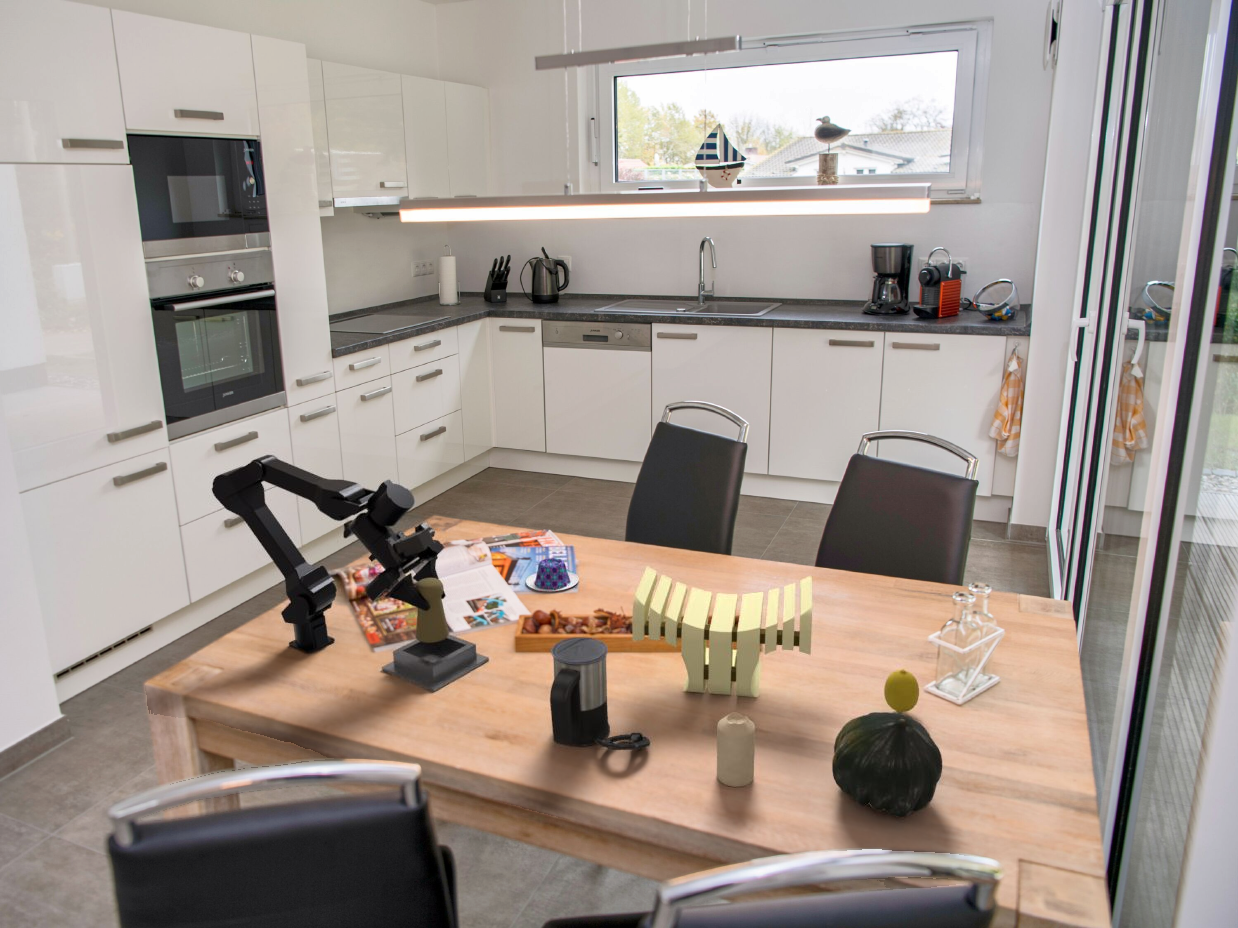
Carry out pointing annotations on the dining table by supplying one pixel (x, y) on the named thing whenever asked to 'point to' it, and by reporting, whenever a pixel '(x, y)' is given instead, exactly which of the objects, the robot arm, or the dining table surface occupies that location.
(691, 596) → the slatted curved stool
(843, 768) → the squash
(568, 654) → the milk frother
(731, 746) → the candle
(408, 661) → the collar holder
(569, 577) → the pudding
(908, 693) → the lemon
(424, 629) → the cork
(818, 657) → the dining table surface
